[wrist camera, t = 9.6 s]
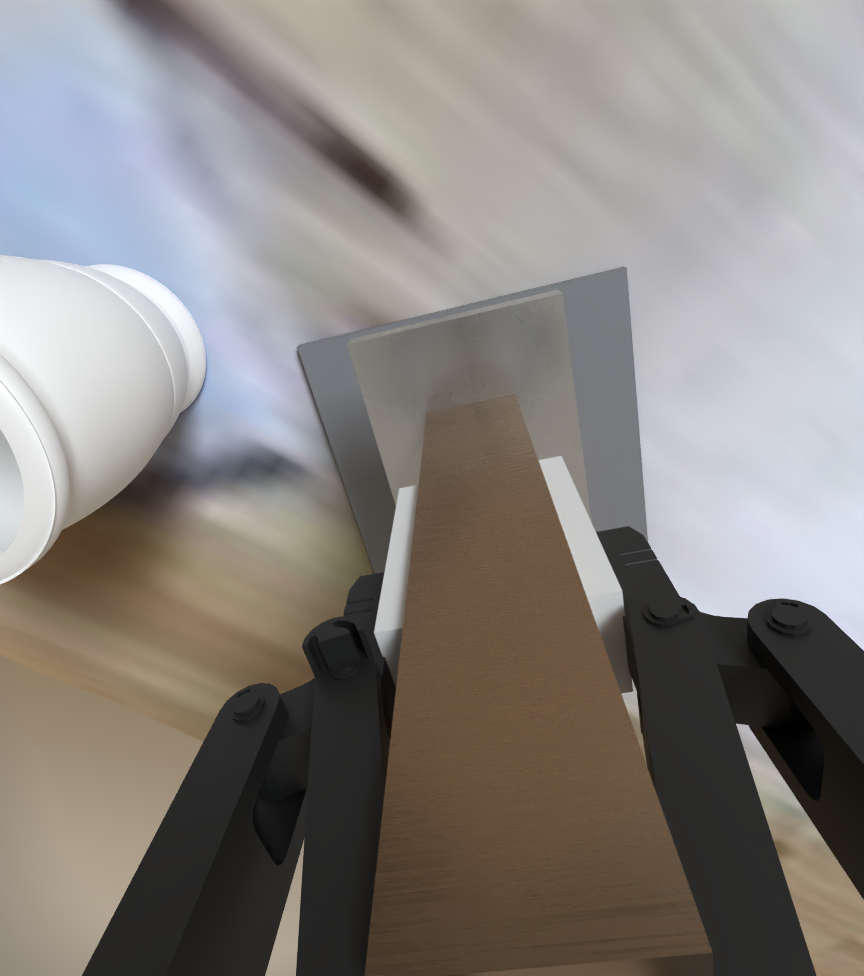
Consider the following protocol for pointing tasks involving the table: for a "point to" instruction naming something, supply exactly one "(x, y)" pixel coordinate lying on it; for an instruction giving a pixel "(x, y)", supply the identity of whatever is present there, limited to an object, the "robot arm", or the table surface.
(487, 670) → the tall wooden post
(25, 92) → the table surface
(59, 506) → the jar
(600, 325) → the slate rubber mat
